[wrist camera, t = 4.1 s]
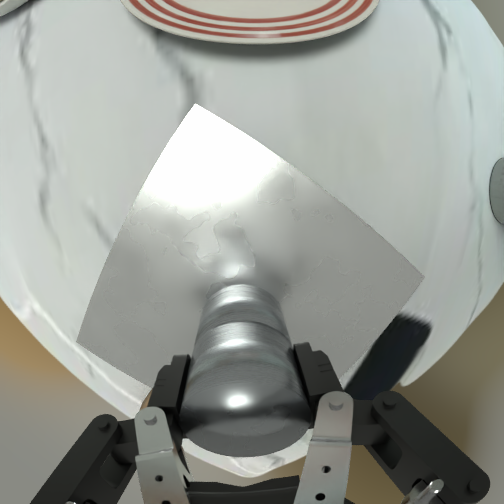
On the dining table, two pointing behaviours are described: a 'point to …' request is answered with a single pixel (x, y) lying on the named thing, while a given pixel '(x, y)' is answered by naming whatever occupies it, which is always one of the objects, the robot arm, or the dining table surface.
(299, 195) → the pan
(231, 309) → the cylinder
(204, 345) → the cylinder
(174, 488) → the robot arm
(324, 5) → the dinner plate
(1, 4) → the bowl
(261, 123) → the dining table surface
